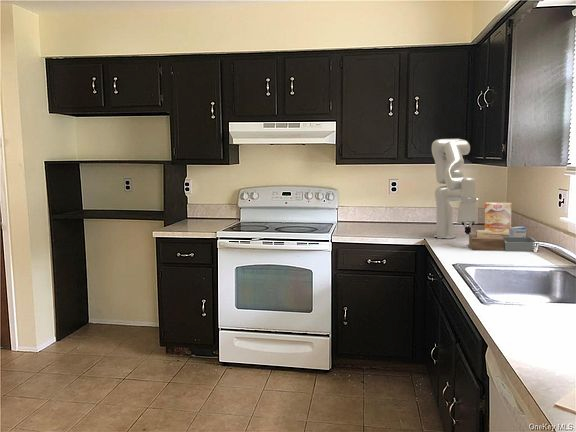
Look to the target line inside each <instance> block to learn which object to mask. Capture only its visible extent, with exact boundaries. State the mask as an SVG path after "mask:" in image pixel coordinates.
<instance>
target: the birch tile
mask: <svg viewBox="0 0 576 432" xmlns="http://www.w3.org/2000/svg"><path fill="white" fill-rule="evenodd" d="M475 234H476V237H477V238H489V231H488V230H485V229H484V230H483V229H482V230H480V229H479V230H477V229H476V230H475Z"/></svg>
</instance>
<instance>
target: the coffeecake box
mask: <svg viewBox="0 0 576 432" xmlns="http://www.w3.org/2000/svg"><path fill="white" fill-rule="evenodd" d="M512 204H513V203H512V202H485V204H484V230H488V231H489V234H498V235H505V236H506V235H507V236H509V227H512Z"/></svg>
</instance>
